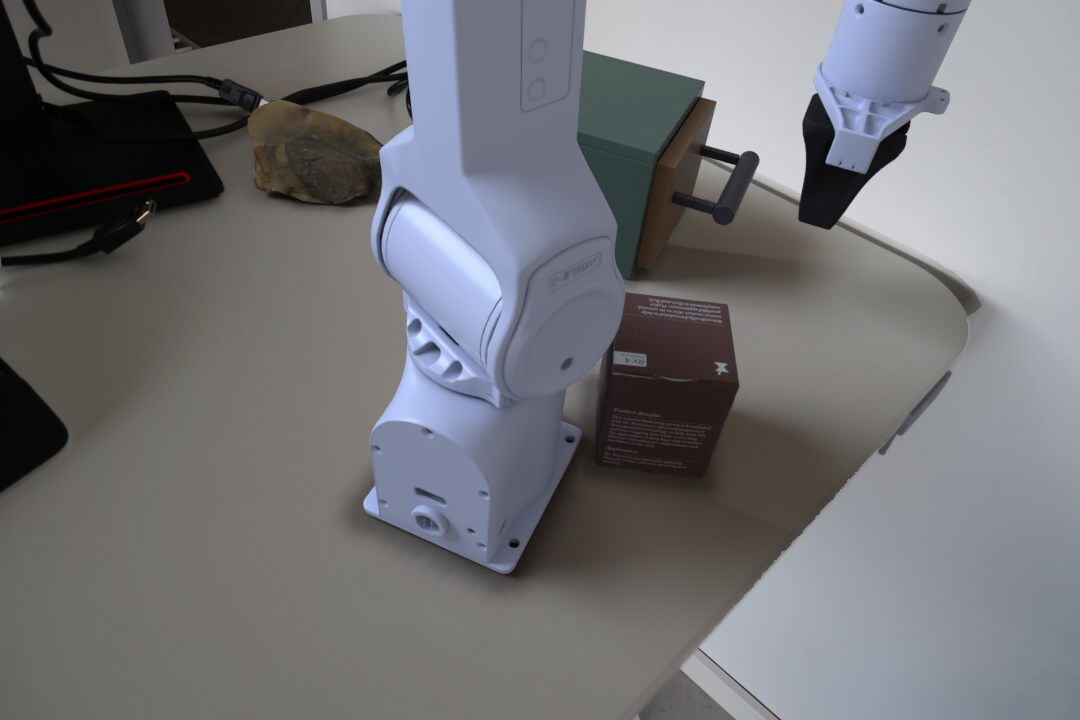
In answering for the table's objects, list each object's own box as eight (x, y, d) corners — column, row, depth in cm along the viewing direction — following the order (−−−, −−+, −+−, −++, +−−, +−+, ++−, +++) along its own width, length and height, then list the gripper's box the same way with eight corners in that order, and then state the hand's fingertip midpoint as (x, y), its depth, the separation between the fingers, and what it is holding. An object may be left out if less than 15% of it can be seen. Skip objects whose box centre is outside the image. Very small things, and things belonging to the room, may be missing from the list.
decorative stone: (401, 151, 60) (399, 110, 57) (365, 214, 53) (361, 170, 51) (277, 132, 60) (269, 91, 58) (225, 192, 54) (214, 148, 51)
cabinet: (676, 199, 58) (705, 80, 51) (629, 280, 50) (656, 153, 43) (520, 152, 61) (528, 35, 54) (453, 222, 53) (452, 95, 47)
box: (698, 398, 43) (732, 302, 38) (705, 482, 39) (743, 387, 33) (595, 384, 43) (614, 287, 38) (589, 467, 39) (610, 370, 33)
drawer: (744, 212, 56) (775, 116, 50) (710, 289, 49) (742, 187, 43) (543, 153, 59) (552, 57, 54) (485, 216, 53) (489, 114, 47)
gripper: (996, 63, 31) (868, 306, 41) (990, -28, 41) (889, 185, 50) (829, 24, 33) (744, 267, 42) (862, -55, 43) (787, 157, 52)
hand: (815, 220), depth 46 cm, fingers closed
